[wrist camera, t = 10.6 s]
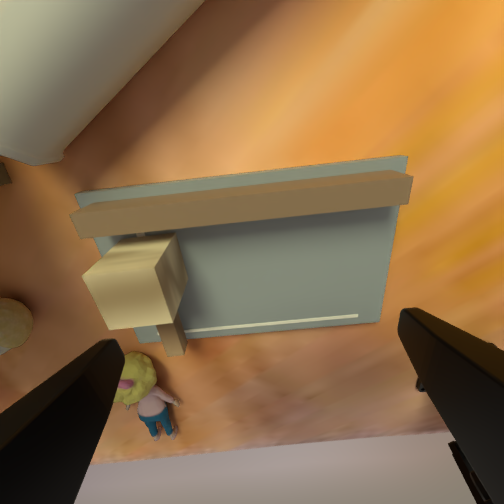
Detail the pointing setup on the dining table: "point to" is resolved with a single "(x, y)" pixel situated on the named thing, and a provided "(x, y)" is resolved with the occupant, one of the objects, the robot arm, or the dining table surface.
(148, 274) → the wooden block with peg
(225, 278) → the board
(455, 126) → the dining table surface
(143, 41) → the tube
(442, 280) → the dining table surface
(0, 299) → the hammer
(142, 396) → the figurine
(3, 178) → the book
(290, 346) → the dining table surface
